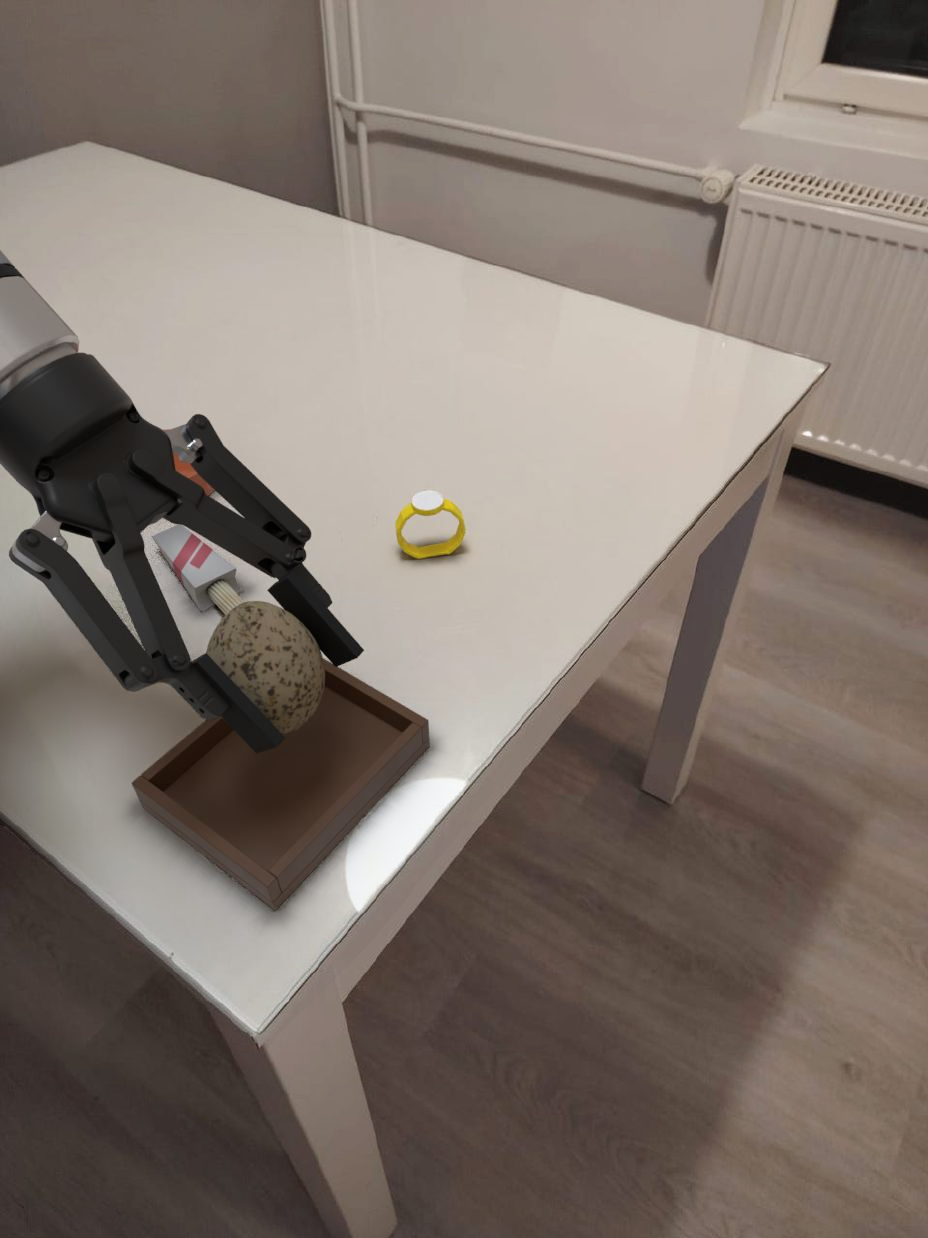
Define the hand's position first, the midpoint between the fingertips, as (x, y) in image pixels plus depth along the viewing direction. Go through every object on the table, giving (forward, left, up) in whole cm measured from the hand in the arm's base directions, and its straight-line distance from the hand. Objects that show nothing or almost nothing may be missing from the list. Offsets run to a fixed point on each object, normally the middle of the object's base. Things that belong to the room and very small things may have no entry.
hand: (311, 699), depth 52 cm
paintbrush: (-10, +20, -11) cm, 25 cm away
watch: (+8, +25, -11) cm, 28 cm away
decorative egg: (-3, +2, -4) cm, 5 cm away
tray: (-3, +2, -10) cm, 11 cm away
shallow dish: (-17, +38, -10) cm, 43 cm away
